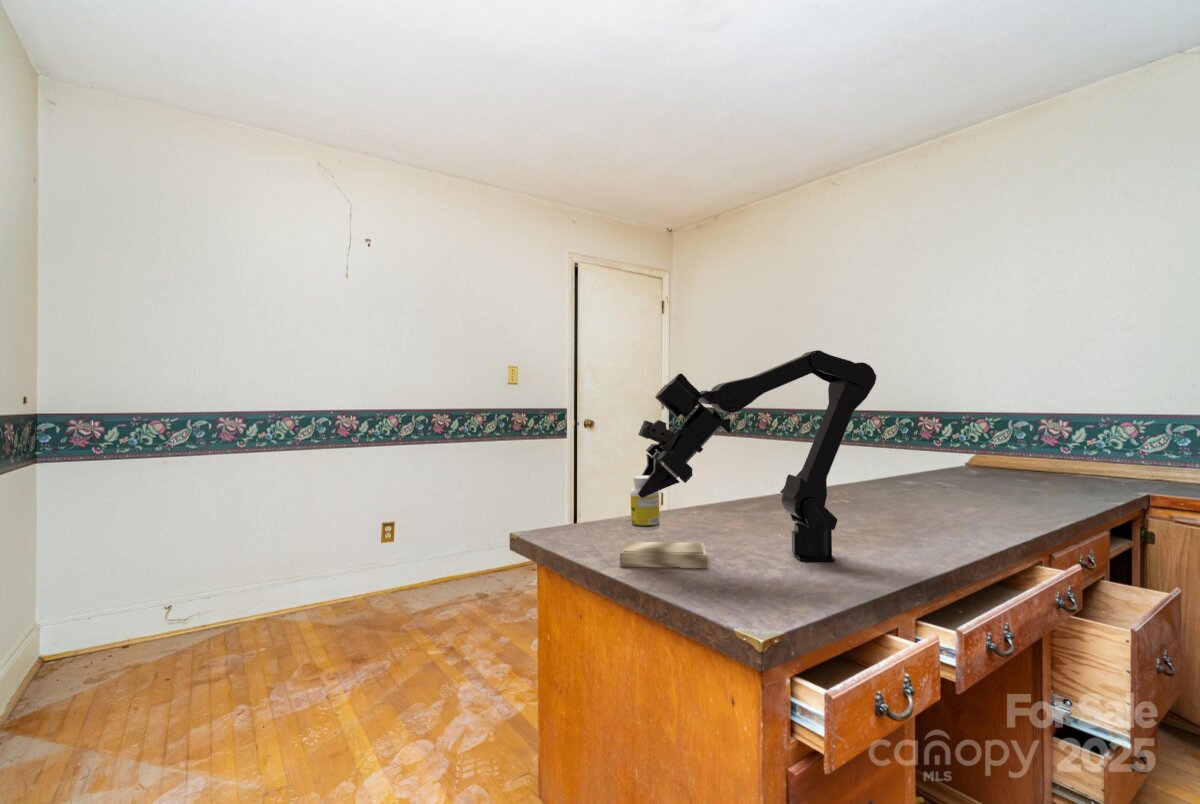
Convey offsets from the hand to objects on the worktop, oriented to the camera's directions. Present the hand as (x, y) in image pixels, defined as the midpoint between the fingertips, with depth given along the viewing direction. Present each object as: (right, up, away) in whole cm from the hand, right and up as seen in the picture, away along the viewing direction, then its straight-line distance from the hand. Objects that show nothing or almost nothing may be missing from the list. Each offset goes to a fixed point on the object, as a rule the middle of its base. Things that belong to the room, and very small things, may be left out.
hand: (637, 493), depth 103 cm
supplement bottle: (+1, -7, 0) cm, 7 cm away
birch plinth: (+5, -13, +1) cm, 14 cm away
